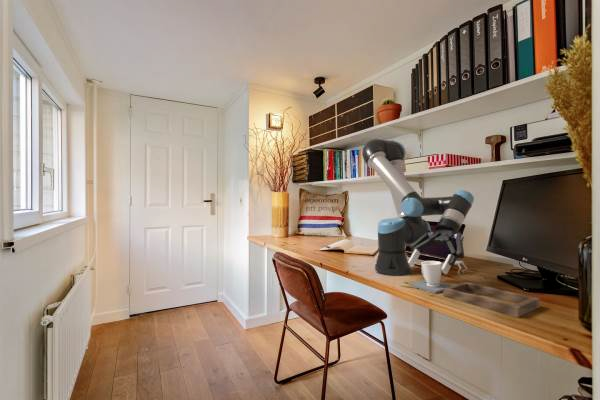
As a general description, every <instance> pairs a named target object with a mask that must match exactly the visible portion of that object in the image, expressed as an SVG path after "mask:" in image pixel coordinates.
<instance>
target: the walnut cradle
mask: <svg viewBox="0 0 600 400" xmlns="http://www.w3.org/2000/svg"><path fill="white" fill-rule="evenodd" d="M443 290H444V291H443V297H445V298H448V299H452V300H456V301H460V302H463V303H466V304H470V305H473V306H476V307H479V308H483V309H487V310H490V311H494V312H498V313H500V314H504V315H507V316H511V317H514V318H520V317H522V316H525V315H526V314H528V313H531V312H532V311H535V310H537V309H538V308H540V298H537V297H534V296H530V295H529V296H528V295H524V294H520V293H516V292H512V291H511V292H510V291H507V290H502V289H498V288H494V287H490V286H484V285H480V284H476V283H472V282H467V281H466V282H462V283H458V284H454V285H453V286H451V287H447V288H444V289H443ZM467 292H471V293H467ZM472 293H474V294H472ZM475 294H478V295H475ZM480 295H483V296H480ZM484 296H487V297H484ZM488 297H490V298H488ZM491 298H494V299H499V300H501V301H499V300H494V299H491ZM502 301H506V302H507V303H506V302H502ZM508 302H510V303H508ZM511 303H514V304H511Z"/></svg>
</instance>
